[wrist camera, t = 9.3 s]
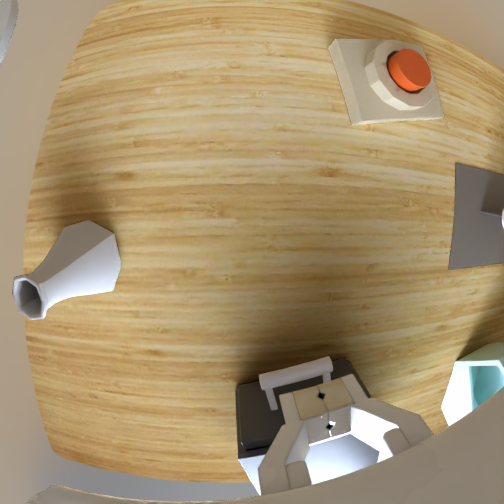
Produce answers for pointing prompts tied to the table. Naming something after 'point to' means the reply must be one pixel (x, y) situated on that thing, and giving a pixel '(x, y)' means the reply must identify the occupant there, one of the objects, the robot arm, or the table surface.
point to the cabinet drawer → (267, 397)
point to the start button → (409, 70)
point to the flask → (70, 269)
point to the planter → (474, 381)
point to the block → (380, 83)
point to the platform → (477, 218)
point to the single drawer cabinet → (315, 455)
